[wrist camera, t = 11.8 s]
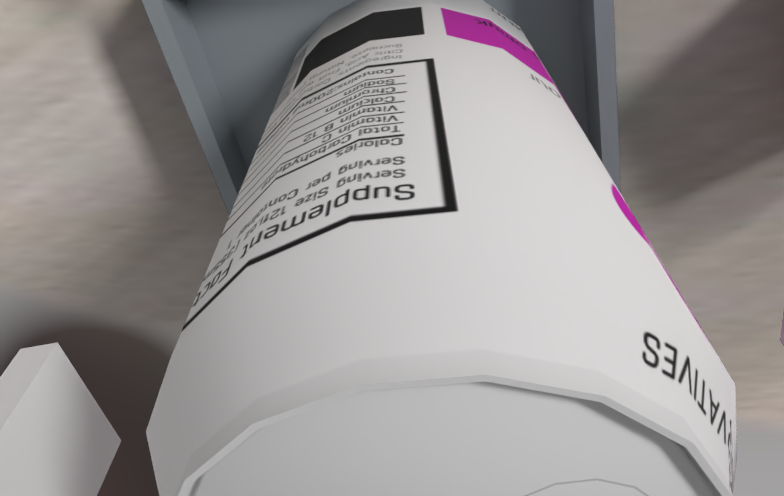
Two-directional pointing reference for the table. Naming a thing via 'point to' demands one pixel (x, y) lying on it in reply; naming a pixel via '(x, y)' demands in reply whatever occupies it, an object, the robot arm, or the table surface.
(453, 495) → the supplement can
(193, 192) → the table surface
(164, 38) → the tray
